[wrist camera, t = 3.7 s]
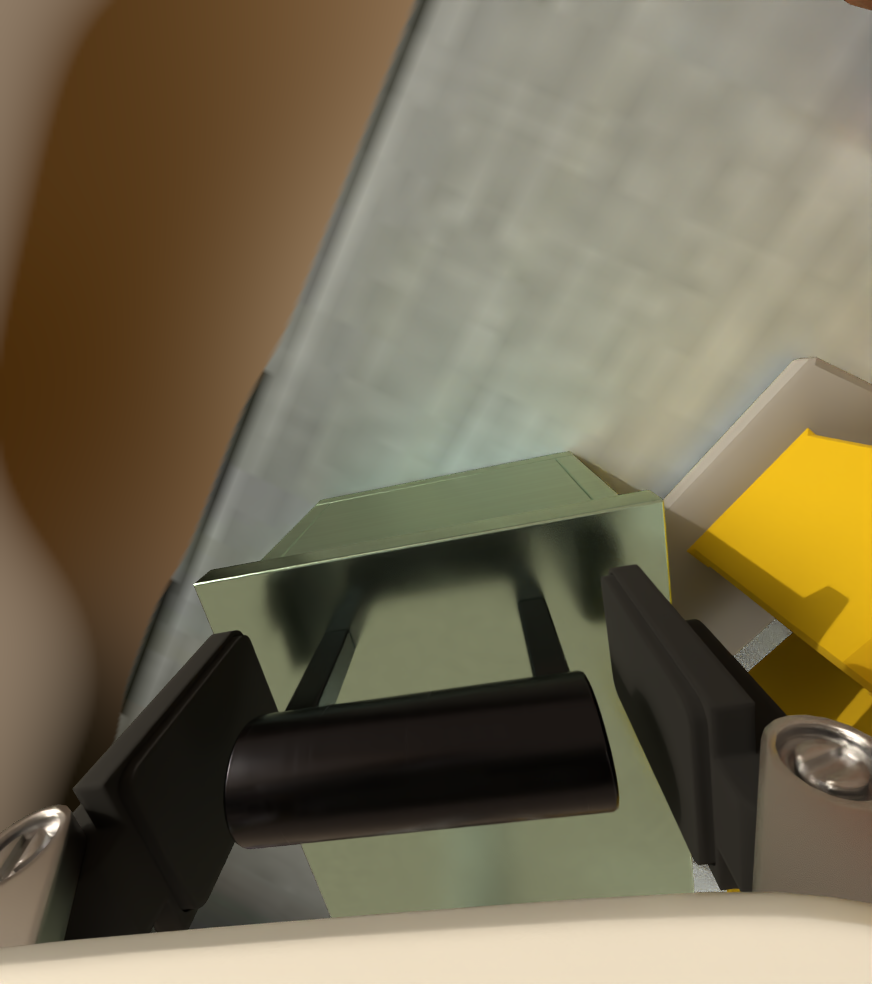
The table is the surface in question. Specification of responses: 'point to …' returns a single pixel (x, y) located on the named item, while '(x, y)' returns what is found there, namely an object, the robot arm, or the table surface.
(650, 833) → the drawer panel with handle
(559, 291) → the table surface
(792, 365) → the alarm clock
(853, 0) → the figurine
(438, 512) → the mint green channel tray
